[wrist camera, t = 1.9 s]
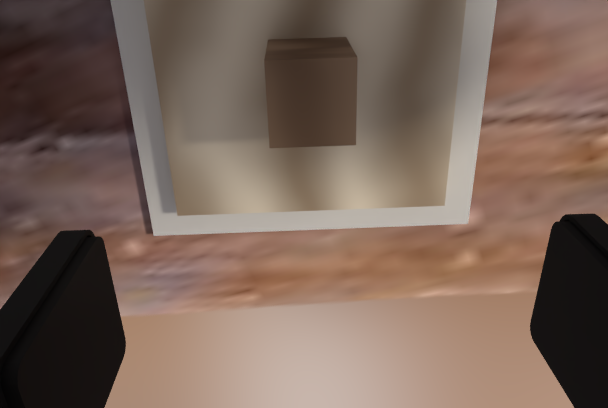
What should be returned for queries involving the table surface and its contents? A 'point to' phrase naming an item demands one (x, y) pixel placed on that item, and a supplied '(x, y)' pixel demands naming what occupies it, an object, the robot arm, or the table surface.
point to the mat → (166, 222)
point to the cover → (306, 102)
